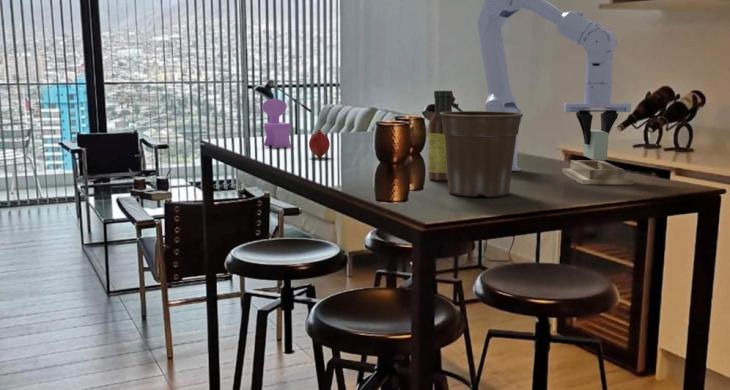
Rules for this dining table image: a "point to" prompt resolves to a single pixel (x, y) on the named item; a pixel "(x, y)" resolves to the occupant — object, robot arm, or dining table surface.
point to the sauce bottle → (438, 137)
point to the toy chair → (276, 124)
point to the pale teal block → (597, 146)
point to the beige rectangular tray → (596, 172)
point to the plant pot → (480, 151)
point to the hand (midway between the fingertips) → (595, 144)
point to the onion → (319, 143)
